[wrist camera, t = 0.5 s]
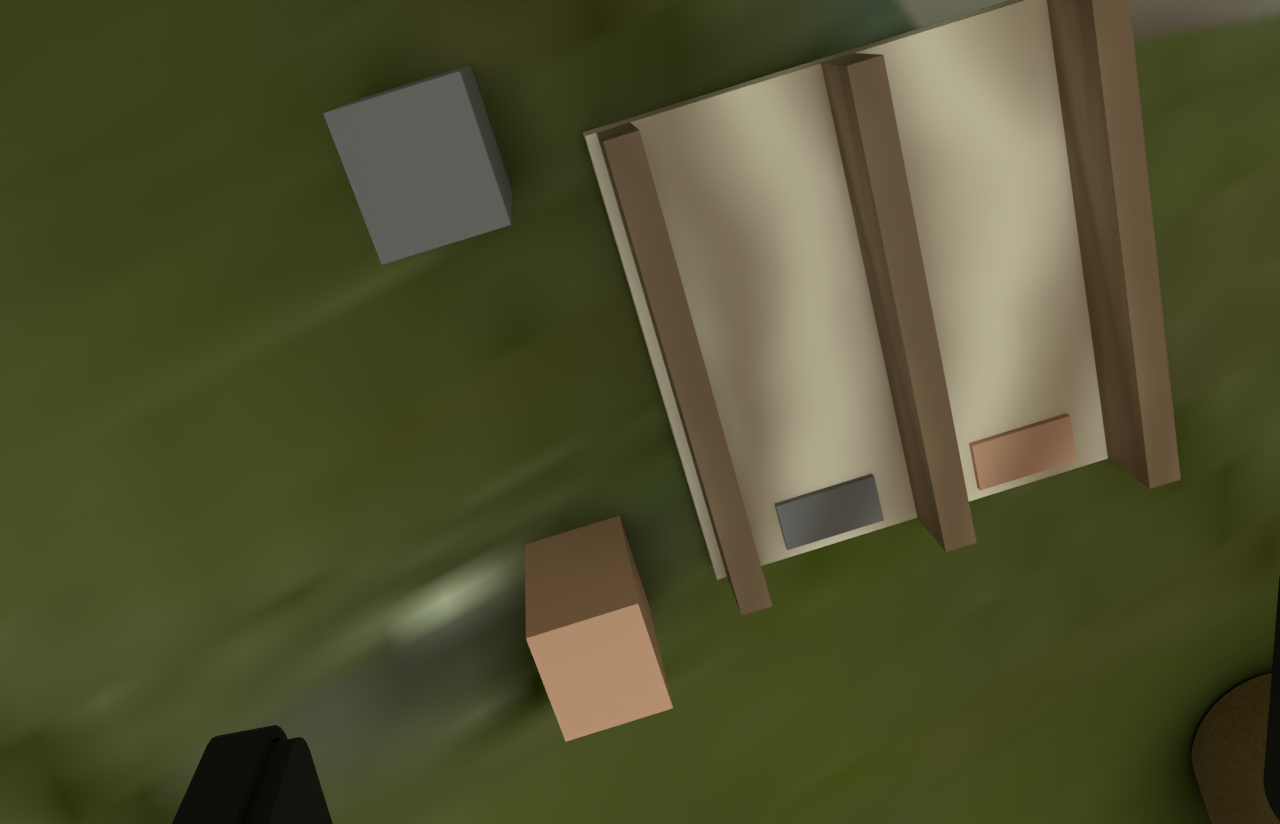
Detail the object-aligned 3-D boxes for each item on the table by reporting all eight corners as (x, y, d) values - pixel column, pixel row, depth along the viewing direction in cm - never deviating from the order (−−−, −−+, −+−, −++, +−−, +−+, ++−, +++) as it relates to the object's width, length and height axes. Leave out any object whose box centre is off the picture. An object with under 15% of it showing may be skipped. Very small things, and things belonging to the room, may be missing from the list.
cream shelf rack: (710, 561, 43) (731, 618, 39) (582, 132, 37) (590, 145, 33) (1125, 433, 43) (1190, 476, 39) (1068, -18, 37) (1139, -25, 33)
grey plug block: (405, 224, 37) (381, 264, 31) (359, 98, 36) (323, 113, 29) (512, 191, 37) (510, 224, 31) (470, 64, 36) (459, 70, 29)
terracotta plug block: (558, 635, 44) (565, 741, 37) (524, 544, 42) (526, 638, 36) (649, 607, 44) (673, 708, 37) (619, 515, 42) (638, 603, 36)
